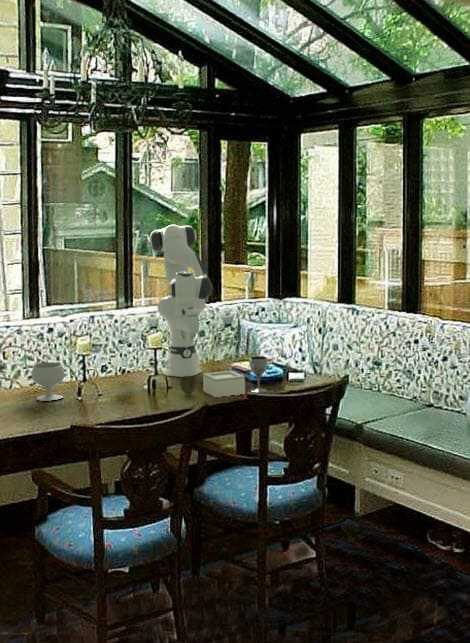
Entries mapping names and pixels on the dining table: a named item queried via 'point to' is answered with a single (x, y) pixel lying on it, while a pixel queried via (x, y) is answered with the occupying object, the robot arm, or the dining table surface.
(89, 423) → the dining table surface
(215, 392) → the open grey box
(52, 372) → the chalice
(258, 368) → the wine glass
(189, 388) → the cup
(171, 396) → the dining table surface
